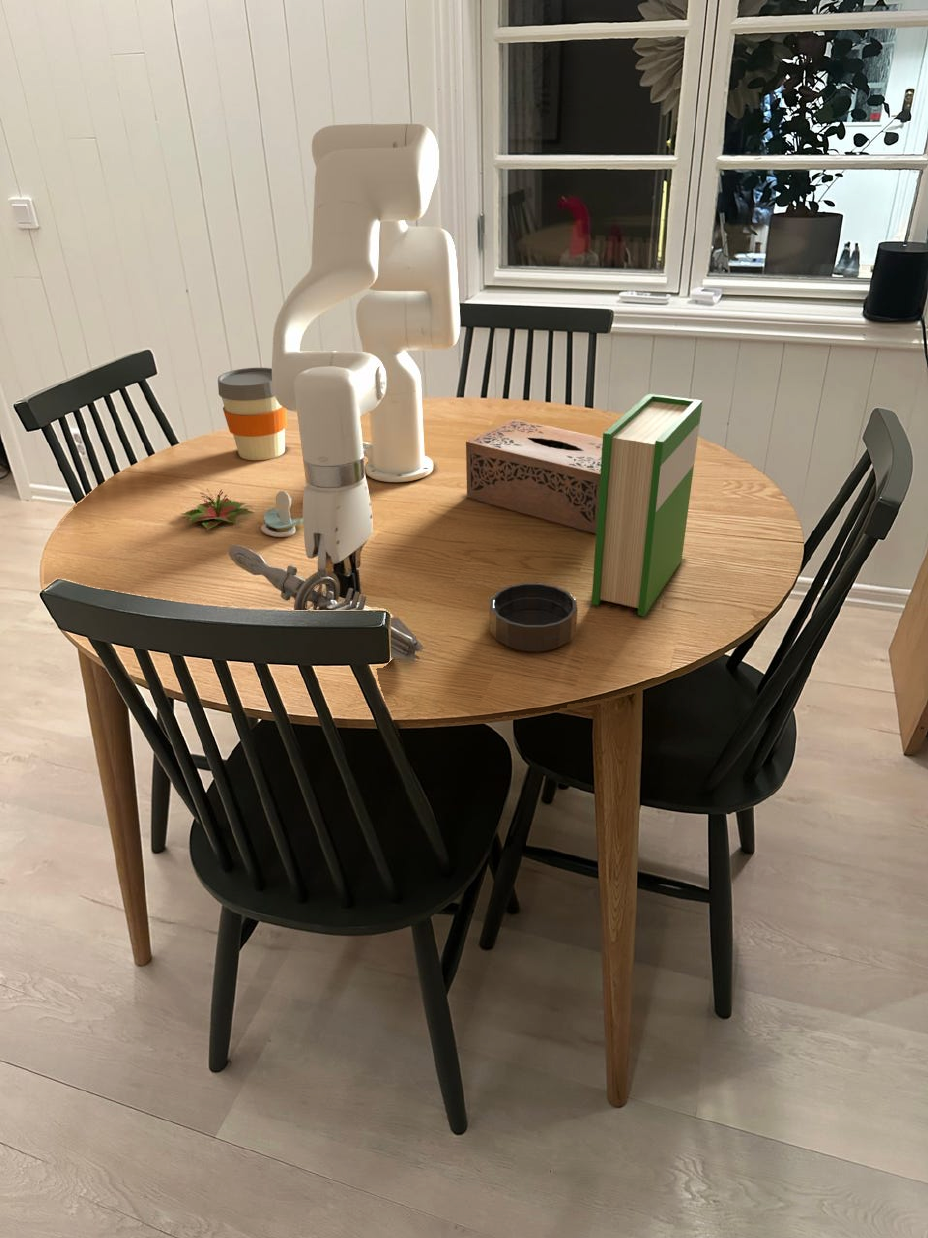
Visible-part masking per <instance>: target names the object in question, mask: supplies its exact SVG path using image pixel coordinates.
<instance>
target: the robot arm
mask: <svg viewBox="0 0 928 1238" xmlns="http://www.w3.org/2000/svg"><path fill="white" fill-rule="evenodd" d="M311 154H312V159H313V162H314V165H315V175H314V194H313V195H314V196H313V215H312V216H313V218H312V219H313V220H312V245H311V265H310V268H309V270H308V272H307V273H306V274H305V276H303V278H302V279H300V281H298V283H297V284H296V285H295V286H294V288H293V289H292V290H291V291H290V293H289V294H288V296H287V297H286V299H285V301H284V302H283V305H282V306H281V308H280V310H279V312H278V314H277V317H276V320H275V323H274V326H273V327H274V328H273V335H272V352H271V354H272V355H271V368H272V385H273V391H274V395H275V397H276V400H277V401H278V403H279V404H280V405H281V406H282V407H283V408H285V409H287V411H289V412H294V413H295V412H296V416H297V425H298V432H299V438H300V447H301V453H302V454H301V455H302V461H303V462H302V463H303V471H304V477H305V478H304V479H305V484H306V486H305V487H304V488H303V496H302V518H303V522H302V525H303V526H302V527H303V540H304V549H305V555H306V557H307V558H308V559H314V558H315V559H316V558H317V572H319V571H325V573H326V574H328V572H333V573H334V574H335V575H336V576H337V578H338V580H339V583H340V594H339V598H341V599H346V596H347V593H348V590H349V588H351V589H353V593H352V598H351V601H353V598H354V595H355V592H359V593H360V594H359V596H360V595H362V590H361V589H362V587H361V579H360V578H361V577H360V570H359V569H360V568H361V562H362V561H361V557H362V556H361V554H362V551H363V548H364V546H365V545H366V544H367V542H368V540H370V538H371V537H372V535H373V531H374V529H373V528H374V525H373V511H372V503H371V497H370V491H369V486H368V481H367V478H366V475H367V476H368V477H370V478H371V479H374V480H376V481H379V482H385V483H406V482H412V481H417V480H420V479H422V478H425V477H428V475H430V474H431V473H432V472H433V470H434V461H433V460H432V459H431V458H430V457H429V456H426V455H425V442H424V440H425V439H424V437H425V436H424V421H423V416H424V415H423V397H422V378H421V372H420V370H419V368H418V366H417V364H416V363H415V362H414V360H413V359H412V358H411V356H410V355H409V354H408V352H409V351H444V350H448V349H451V348H453V347H454V346H455V345H457V343H458V341H459V338H460V332H461V312H460V295H459V281H458V266H457V265H458V264H457V255H456V254H457V253H456V248H455V244H454V241H453V239H452V236H451V234H450V232H448V231H447V230H445V229H444V228H441V227H438V226H409V225H407V223H406V222H412V221H418V220H419V219H421V218H422V217H423V216H424V215H425V213H426V211H427V209H428V208H429V204H430V201H431V197H432V194H433V191H434V188H435V184H436V181H437V178H438V172H439V162H440V161H439V159H440V158H439V157H440V156H439V148H438V142H437V140H436V137H435V135H434V132H432V130H431V128H429V127H428V126H427V125H424V124H419V123H384V124H381V123H380V124H378V123H357V124H356V123H355V124H354V123H353V124H352V123H351V124H332V125H327V126H324V127H321V128H320V129H319V130H318V131H316V132H315V134H314V135H313V137H312V141H311ZM367 290H371V291H373V292H369V293H367V294H365V295H364V296H362V297H361V298H360V299H359V301H358V303H357V306H356V309H355V320H356V321H355V323H356V326H357V327H356V328H357V330H358V336H359V340H360V344H361V348H362V351H336V350H335V351H334V350H333V351H331V350H330V351H329V350H323V351H322V350H303V351H302V350H300V347H301V342H302V338H303V336H304V333H305V331H306V330H307V328H308V327H309V326H310V325H311V323H312V322H313V321H315V319H316V318H318V317H319V316H320V315H321V314H323V313H325V312H326V311H328V310H329V309H331V308H334V307H336V306H337V305H338V304H341V303H342V302H345V301H347V300H349V299H351V298H354V297H355V296H357V295H360V294H362V293H364V292H365V291H367ZM367 414H369V426H370V438H371V443H369V442H366V441H363V433H362V425H361V424H362V423H361V417H363V416H365V415H367ZM365 457H366V458H367V462H366V463H365Z"/></svg>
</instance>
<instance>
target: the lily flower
mask: <svg viewBox="0 0 928 1238" xmlns="http://www.w3.org/2000/svg"><path fill="white" fill-rule="evenodd" d="M206 490H207V492H208V493H209V495H210V496H211V497H210V496H208V495H206V494H205V493H204V492H199V493H200V494H201V498H205V499H207V500H209V501H207V500H205V499H203V502H204V503H199V504H198V505H197V508H196V509H195V508H194V509H190V510H188V511H186V512H181V515H183V516H186V517H189V520H188V522H187V523H186V526H188V525H191V524H194V523H197V522H200V521H201V525H203V527H204V528H205V529H206V530H207V531H209V530H211V529H212V528H214V527H216V526H218V525H220V524H222V523H223V522H224V521H225V522H229V523H232V524H233V525H237V518H238V517H240V516H245V515H249V514H255V513H256V512H254V511H252V510H249V509H248V508H243V507H242V506H244V505H247V504H248V502H241V501H240V502H239V501H232V500H231V499H229V498H228V497H227V496H228V494H225V495H224V496H223V498H222V499H221V496H222V495H223V494H224V491H223V489H220V491H219V492H218V494H216V498H217V500H215V499H214V497H213V496H212V494H211V492H210V491H209V489H208V488H206Z"/></svg>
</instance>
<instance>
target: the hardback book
mask: <svg viewBox="0 0 928 1238" xmlns="http://www.w3.org/2000/svg"><path fill="white" fill-rule="evenodd" d="M702 406H703V400H700V399H693V398H686V397H680V396H679V397H678V396H669V395H663V394H656V393H647V394H646V395H645V396H643V398H642V399H640V400H639V401H638V402H637V403H636V404H635V405H633V406H632V407H631V408H630V409H629V410H627V412H626V413H624V414H623V415H622V416H621V417H620V418H619V419H617V420H616V421H615V422H614V423H613V424H612V425H610V427H608V428H607V429H606V430H605V431H604V432H603V433H602V437H603V444H602V458H601V473H600V487H599V502H598V516H597V531H596V534H595V545H594V546H595V548H594V562H593V574H592V575H593V576H592V590H591V605H592V606H599V605H600V604H601V602H602V601H606V602H610V603H613V604H619V605H622V606H627V607H631V608H636V609H637V616H640V617H646V615H647V614H648V612H649V611H650V609H651V607H652V606H653V605H654V603H655V602H656V600H657V599H658V597H659V596H660V594H661V593H662V591H663V590H664V588H665V586H666V585H667V584H668V582H669V581H670V579H671V577H672V576H673V575H674V573H675V572H676V570H677V568H678V567H679V566H680V564H681V563H682V561H683V554H684V546H685V538H686V529H687V523H688V516H689V515H688V514H689V507H690V499H691V492H692V484H693V477H694V469H695V461H696V453H697V447H698V440H699V439H698V438H699V431H700V429H699V428H700V422H701V415H702V409H703V408H702Z"/></svg>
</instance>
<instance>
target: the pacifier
mask: <svg viewBox="0 0 928 1238" xmlns="http://www.w3.org/2000/svg"><path fill="white" fill-rule="evenodd" d="M275 495H276V496H275V499H274V500H275V506H276V508H270V509H267V510H266V511H265V512H264V514H263V520H264V522H265V523H263V524H262V525H261V527H260V530H261V531H262V533H263V534H265V535H268V536H271V537H276V538H284V537H285V538H286V537H290V536H293V535H294V534H295V533H296V531H297V530H296V526H297V525H299V524H301V523H303V517H298V518H292V517H291V512H290V509H291V506H292V498H291V496H290V494H289V493H288V492H286V491H284V490H280V491H278V492H277V493H276V494H275ZM278 516H279V517H278ZM269 528H272V529H275V530H276V531H274V530H271V529H269Z"/></svg>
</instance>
